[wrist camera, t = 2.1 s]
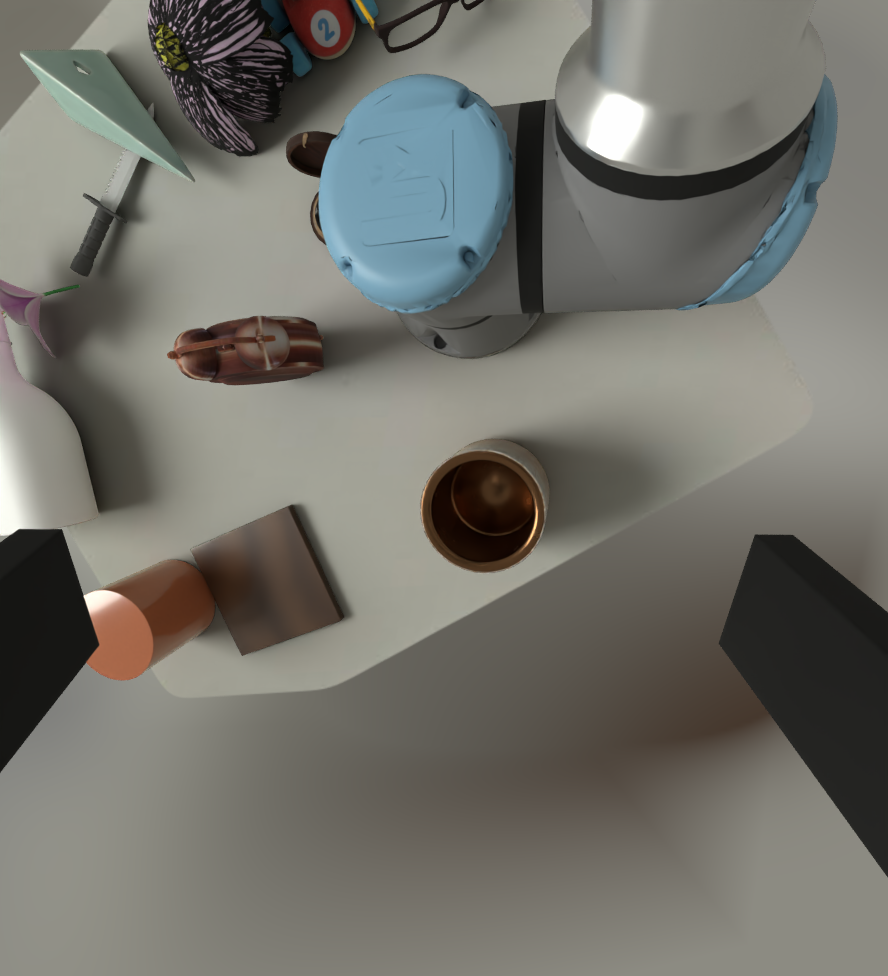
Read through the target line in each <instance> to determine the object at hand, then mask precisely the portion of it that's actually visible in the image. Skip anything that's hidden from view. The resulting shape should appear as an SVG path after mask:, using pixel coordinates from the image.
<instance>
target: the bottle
mask: <svg viewBox="0 0 888 976" xmlns="http://www.w3.org/2000/svg"><path fill="white" fill-rule="evenodd" d="M2 311H4V310H3V309H2V308H1V306H0V536H5V535H11V534H12V533H14V532H15V531H17V530H18V529H56V528H61V527H65V526H70V525H74V524H78V523H82V522H85V521H89V520H92V519H94V518H97V517H98V516H99V513H98V509H97V505H96V501H95V497H94V492H93V488H92V484H91V480H90V476H89V472H88V468H87V464H86V460H85V456H84V451H83V447H82V443H81V440H80V436H79V434H78V431H77V429H76V427H75V425H74V423H73V421H72V419H71V418H70V416H69V415H68V413H67V412H66V411H65V410H64V408H63V407H62V406H61V405H60V404H59V403H58V402H57V401H56V400H55V399H53V398H52V397H51V396H50V395H48V394H47V393H46V392H44V391H42V390H41V389H39V388H37V387H35V386H33V385H32V384H30V383H29V382H27V381H26V380H25V379H24V378H23V377H22V375H21V374H20V373H19V371H18V369H17V366H16V363H15V359H14V355H13V351H12V347H11V345H12V343H11V342H10V339H9V336H8V332H7V328H6V324H5V320H4V316H3V315H2V314H1V313H3V312H2Z"/></svg>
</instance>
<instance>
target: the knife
mask: <svg viewBox="0 0 888 976" xmlns="http://www.w3.org/2000/svg"><path fill="white" fill-rule="evenodd" d="M147 112H148V113H149V115H150V116H151V118H152V119H153V118H154V105H153V103H152V104H151V105H150V107H149V108H148V110H147ZM123 148H124V147H123ZM124 149H125V148H124ZM121 154H123V155H124V156H120V158H119V159H120V160H122V161H121V162H117V165H119V167H115V169H114V170H116V171H117V172H115V173H114V172H113V174H112V175H113V176H115V177H114V178H110V181H112V183H108V185H107V186H110V188H106V190H105V191H106V192H108V193H107V194H103V196H102V198H101V200H100V202H99V201H98V200H96V199H95V198H93V197H91V196H89V195H87V194H85V193H84V194H83V197H85V198H86V199H88V200H89V201H90V202H92V203H93V204H94V205H96V206H97V207H98V208H97V210H96V213H95V217H93V219H92V222H91V226H89V228H88V231H87V234H86V235H85V237H84V240H83V243H82V244H81V246H80V249H79V252H78V253H77V255H76V256H75V257H74V259H73V262H72V264H71V267H70V268H71V269H72V270H73V271H74V272H76V273H78V274H80V275H82V276H86V277H88V275H89V273H90V271H91V269H92V267H93V262H94V258H96V255H97V253H98V250H99V249H100V247H101V245H102V241H103V240H104V238H105V236H106V233H107V231H108V229H109V227H110V226H109V225H110V224H111V222H112V220H113V218H114V217H115V218H116V219H118V220H120V221H122V222H124V223H127V220H125V219H124V218H123V217H122V216H120V215H119V214H118V213H116V212H115V211H116V209H117V207H118V205H119V203H120V201H121V199H122V196H123V194H124V192H125V190H126V188H127V185H128V183H129V181H130V179H131V177H132V174H133V172H134V170H135V168H136V166H137V164H138V161H139V159H140V157H141V156H139V155H137V154H135V153H133V152H131V151H129V150H127V149H126V151H122V153H121Z"/></svg>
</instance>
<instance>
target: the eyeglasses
mask: <svg viewBox="0 0 888 976" xmlns="http://www.w3.org/2000/svg"><path fill="white" fill-rule="evenodd" d="M355 1H356V2H357V4H358V6H359V8H360V9H361V11H362V13H363V14H364V16H365V17H366V19H367V20H368V22H369V24H370V25H371V27H372V28H373V30H374V31H375V33H376V35H377V36H378V37H379V38H380V39H382V41H383V44H384V46H385V48H386V49H387V51H388V52H390V53H396V52H400V51H404V50H407V49H409V48H412V47H414V46H416V45H418V44H420V43H421V42H423V41H425V40H426V39H428V38H429V37H431V36H432V35H433V34H435V33H436V32H437V30H438V29H439V28H440V26H441V25H442V23H443V21H444V19H445V18H446V15H447V13H448V11H449V9H450V7H451V5H452V4H453V3H456V2H458V1H459V0H433V1H431V2H429V3H427V4H425V5H423V6H422V7H420V8H418V9H416V10H414V11H412V12H410V13H408V14H406V15H404V16H402V17H400V18H398V19H396V20H394V21H391V22H389V23H386V24H384V25H380V26H379V25H377V24H376V22H375V21H374V19H373V18H372V16H371V15H370V14H369V12H368V10H367V9H366V7H365V6H364V4H363V3H362V1H361V0H355ZM483 1H484V0H475V1H474V2H472V3H470V4H466V3H465V2H464V0H461V3H462V5H463V7H464V8H465V9H466V10H471V9H472V8H474V7H476V6H477V5H479V4H480V3H481V2H483ZM440 3H442V4H441V7H440V11H439V16H438V20H437V23H436V25H435V26H434V27H433V28H432V29H431V30H430V31H429V32H427V33H426V34H424V35H423V36H422V37H420V38H418V39H417V40H415V41H413V42H411V43H408V44H406V45H402V46H398V47H390V46H389V45H388V36H389V33H390V31H391V30H392V29H393V28H395V27H396V26H398V25H400V24H402V23H404V22H406V21H408V20H409V19H411V18H413V17H415V16H417V15H419V14H421V13H422V12H424V11H426V10H428V9H430V8H432V7H434V6H436V5H438V4H440Z"/></svg>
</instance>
